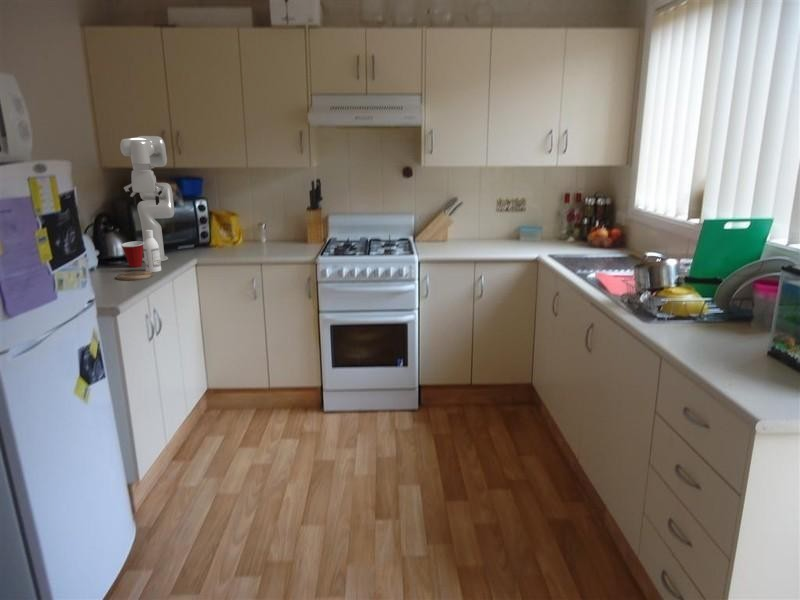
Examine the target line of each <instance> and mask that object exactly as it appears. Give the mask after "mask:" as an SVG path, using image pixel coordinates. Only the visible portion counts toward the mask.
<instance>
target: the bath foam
mask: <svg viewBox="0 0 800 600" xmlns="http://www.w3.org/2000/svg"><path fill="white" fill-rule="evenodd" d="M146 236H147V238H146V240H145V242H144V245H143V256H144V257H143V258H144V259H145V262H144V267H145V271H149V272H152V273H158V272H161V271H162V265H161V263H162V261H160V252H159V246H158V243H157V242H156V240H155V239H154V238H153V231H152V230H146Z"/></svg>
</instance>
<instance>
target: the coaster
mask: <svg viewBox="0 0 800 600" xmlns="http://www.w3.org/2000/svg"><path fill="white" fill-rule="evenodd" d="M152 277H153V272H149V271H146V270H134V271H132V270H131V271H125V272H121V273H118V274H117V275H116V279H117V280H119V281H124V282H125V281H126V282H127V281H128V282H130V281H141V280H148V279H150V278H152Z"/></svg>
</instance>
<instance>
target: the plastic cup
mask: <svg viewBox="0 0 800 600" xmlns="http://www.w3.org/2000/svg"><path fill="white" fill-rule="evenodd" d="M143 245H144V242H143V240H141V241H140V240H135V241H128V242H124V243H121V244H120V247H122V250H123V252H124V254H125V259H126V261H127V264H128V267H130V268H141V267H143V261H142V259H143V258H144V257H143V256H144V251H143Z"/></svg>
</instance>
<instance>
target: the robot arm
mask: <svg viewBox="0 0 800 600" xmlns="http://www.w3.org/2000/svg"><path fill="white" fill-rule="evenodd" d="M119 144H120V145H119V149H120V152H121V154H122V155H123V156H124V157H130V161H131V164H132V170H131V183H130V184H128V185H125V186H124V187H123V189H124V191H125V192H126V194H127V195H129V196H130V198H131V204H133V206H134V207H135V206H137V212H138V216H139V219H140V226H141V232H142V233H141V234H142V242H145V240H146V238H147V236H146V230H152V231H153V238H154V239H155V240H156V242H157V243H158V246H159V252H160V262H164V261H167V260H169V257H168V256H167V255H165V249H164V239H163V232H162V230H163V229H162V226H161V224H160V223H159V222H158V221H157V220H158V219H171V218H173V217H174V215H175V204H174V194H173V189H172V186H171V185H170V184H169V183H167V182H157V178H156V175H155V173H154V170H152V169H155V168H158V167H159V168H160V167H161V168H163V167H165V166H167V163H168V157H167V149H166V144H165V141H164V139H163V138H162V137H161V136H157V135H139V136H137V137H128V138H123V139H122V140H121V141H120V143H119ZM130 188H131V190H132V192H131V191H130V190H129V189H130ZM137 193H139V196H140V199H142V201H139V202H138V204H137V199H136V196H135V195H136V194H137ZM156 219H157V220H156ZM142 262H144V263H145V259H144V257H143V259H142Z"/></svg>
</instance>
